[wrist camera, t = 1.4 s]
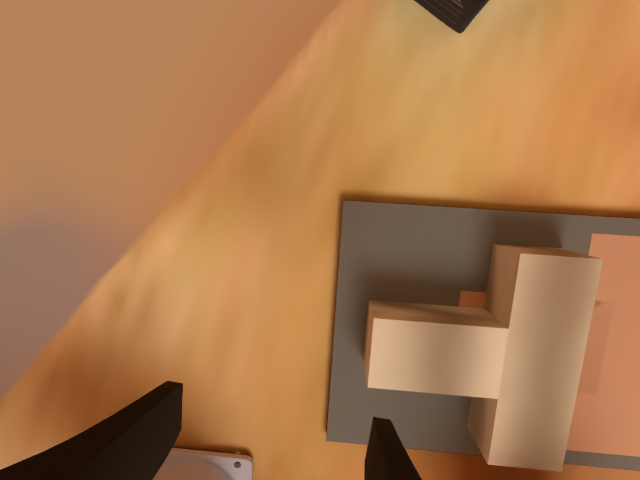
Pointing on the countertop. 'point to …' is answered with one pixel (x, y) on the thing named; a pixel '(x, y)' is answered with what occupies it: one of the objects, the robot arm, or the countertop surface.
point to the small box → (454, 11)
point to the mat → (470, 291)
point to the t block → (498, 352)
